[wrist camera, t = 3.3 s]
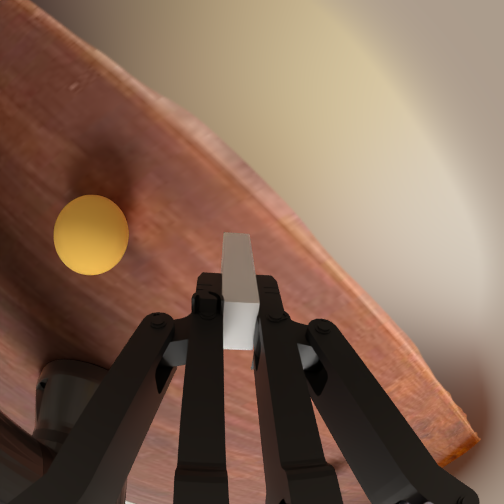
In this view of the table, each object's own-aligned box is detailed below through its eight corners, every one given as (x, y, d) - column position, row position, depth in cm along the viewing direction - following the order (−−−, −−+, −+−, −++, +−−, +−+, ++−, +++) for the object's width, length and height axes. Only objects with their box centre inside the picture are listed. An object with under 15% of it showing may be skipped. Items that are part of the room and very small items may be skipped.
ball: (138, 253, 23) (120, 294, 18) (77, 249, 22) (49, 287, 17) (136, 185, 20) (111, 212, 16) (70, 185, 20) (33, 211, 15)
